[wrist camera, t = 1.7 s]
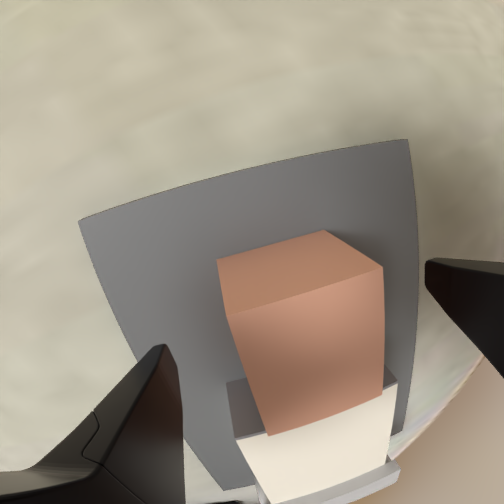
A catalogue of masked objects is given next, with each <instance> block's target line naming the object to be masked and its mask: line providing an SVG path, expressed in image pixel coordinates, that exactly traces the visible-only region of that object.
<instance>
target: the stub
mask: <svg viewBox="0 0 504 504" xmlns="http://www.w3.org/2000/svg"><path fill="white" fill-rule="evenodd" d="M216 261H217V267H218V273H219V279H220V284H221V290H222V296H223V302H224V307H225V313H226V317H227V320H228V323H229V326H230V330H231V333H232V336H233V339H234V342H235V345H236V348H237V351H238V354H239V357H240V359H241V362H242V365H243V368H244V371H245V374H246V377H247V380H248V383H249V385H250V388H251V391H252V394H253V397H254V399H255V402H256V405H257V408H258V411H259V413H260V416H261V419H262V421H263V424H264V427H265V430H266V432H267V435H268V436H272V435H275V434H279V433H282V432H286V431H289V430H292V429H295V428H298V427H302V426H305V425H308V424H311V423H313V422H316V421H319V420H322V419H325V418H328V417H330V416H333V415H336V414H338V413H341V412H343V411H346V410H348V409H351V408H353V407H356V406H358V405H360V404H363V403H365V402H367V401H370V400H372V399H374V398H376V397H379V396H381V395H382V390H383V373H384V343H385V310H384V280H383V267H382V266H381V265H379V264H378V263H376V262H374V261H373V260H371V259H370V258H368V257H367V256H365V255H364V254H362V253H361V252H359V251H357V250H356V249H354V248H353V247H351V246H349V245H348V244H346V243H345V242H343V241H342V240H340V239H338V238H337V237H335V236H333V235H332V234H330V233H329V232H327V231H325V230H321V231H317V232H314V233H310V234H307V235H303V236H299V237H296V238H292V239H289V240H285V241H281V242H278V243H274V244H271V245H267V246H263V247H260V248H256V249H253V250H249V251H245V252H242V253H238V254H235V255H231V256H227V257H224V258H220V259H217V260H216Z"/></svg>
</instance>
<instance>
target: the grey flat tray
mask: <svg viewBox="0 0 504 504" xmlns="http://www.w3.org/2000/svg"><path fill="white" fill-rule="evenodd" d="M78 224H79V227H80V230H81V233H82V236H83V239H84V242H85V244H86V247H87V250H88V253H89V255H90V258H91V261H92V263H93V266H94V268H95V271H96V274H97V276H98V278H99V281H100V283H101V286H102V288H103V291H104V293H105V295H106V298H107V300H108V302H109V304H110V307H111V309H112V311H113V313H114V315H115V318H116V320H117V322H118V324H119V326H120V328H121V330H122V332H123V334H124V336H125V338H126V340H127V342H128V344H129V346H130V348H131V350H132V352H133V354H134V356H135V358H136V360H137V362H139V361H140V360H141V359H142V357H143V356H144V355H145V354H146V353H147V352H148V351H149V350H150V349H151V348H152V347H153V346H155V345H159V344H164V343H165V344H167V346H168V347H169V349H170V351H171V354H172V356H173V358H174V360H175V362H176V364H177V367H178V374H179V382H180V391H181V399H182V407H183V437H184V439H185V440H186V442H187V443H188V445H189V446H190V448H191V449H192V450H193V452H194V453H195V455H196V456H197V457H198V459H199V460H200V461H201V463H202V464H203V465H204V467H205V468H206V469H207V471H208V472H209V473H210V475H211V476H212V477H213V478H214V480H215V481H216V482H217V483H218V485H219V486H220V487H221V488H222V490H223V491H225V490H231V489H236V488H241V487H246V486H250V485H255V484H256V489H257V493H258V497H259V502H260V504H348V503H351V502H353V501H356V500H358V499H360V498H363V497H365V496H367V495H370V494H372V493H374V492H377V491H379V490H381V489H383V488H385V487H387V486H389V485H391V484H393V483H395V482H397V479H398V476H399V473H400V470H401V468H400V467H399V465H398V464H397V462H396V460H395V459H394V460H392V461H391V459H390V458H389V456H388V454H387V451H388V446H389V441H390V437H391V436H393V435H395V434H397V433H398V432H400V431H402V429H403V424H404V419H405V414H406V408H407V403H408V397H409V391H410V384H411V377H412V370H413V361H414V352H415V342H416V330H417V314H418V288H419V255H418V229H417V213H416V201H415V190H414V181H413V173H412V165H411V158H410V151H409V145H408V139H401V140H393V141H386V142H379V143H373V144H366V145H360V146H354V147H348V148H342V149H337V150H331V151H326V152H321V153H315V154H310V155H305V156H301V157H296V158H291V159H286V160H282V161H277V162H273V163H268V164H264V165H260V166H256V167H251V168H247V169H243V170H239V171H235V172H231V173H227V174H223V175H220V176H216V177H212V178H208V179H205V180H201V181H198V182H194V183H190V184H187V185H183V186H180V187H177V188H173V189H170V190H167V191H163V192H160V193H157V194H154V195H150V196H147V197H144V198H141V199H138V200H135V201H132V202H129V203H126V204H123V205H120V206H117V207H114V208H111V209H108V210H105V211H102V212H100V213H97V214H94V215H91V216H88V217H86V218H83V219H81V220H79V221H78ZM321 230H325V231H327V232H329V233H330V234H332V235H333V236H335V237H337V238H338V239H340V240H342V241H343V242H345V243H346V244H348V245H349V246H351V247H353V248H354V249H356V250H357V251H359V252H361V253H362V254H364V255H365V256H367V257H368V258H370V259H371V260H373V261H374V262H376V263H378V264H379V265H381V266H382V267H383V280H384V310H385V343H384V373H383V390H382V395H381V396H379V397H376V398H374V399H372V400H370V401H367V402H365V403H363V404H360V405H358V406H356V407H353V408H351V409H348V410H346V411H343V412H341V413H338V414H336V415H333V416H330V417H328V418H325V419H322V420H319V421H316V422H313V423H311V424H308V425H305V426H302V427H298V428H295V429H292V430H289V431H286V432H282V433H279V434H275V435H272V436H268V435H267V432H266V430H265V427H264V424H263V421H262V419H261V416H260V413H259V411H258V408H257V405H256V402H255V399H254V397H253V394H252V391H251V388H250V385H249V383H248V380H247V377H246V374H245V371H244V368H243V365H242V362H241V359H240V357H239V354H238V351H237V348H236V345H235V342H234V339H233V336H232V333H231V330H230V326H229V323H228V320H227V317H226V313H225V307H224V302H223V296H222V290H221V284H220V279H219V273H218V267H217V261H216V260H217V259H220V258H224V257H227V256H231V255H235V254H238V253H242V252H245V251H249V250H253V249H256V248H260V247H263V246H267V245H271V244H274V243H278V242H281V241H285V240H289V239H292V238H296V237H299V236H303V235H307V234H310V233H314V232H317V231H321Z"/></svg>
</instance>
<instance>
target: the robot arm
mask: <svg viewBox="0 0 504 504" xmlns="http://www.w3.org/2000/svg"><path fill="white" fill-rule="evenodd" d="M425 286H426V288H427V290H428V291H429V292H430V293H431V295H432V296H433V297H434V298H435V300H436V301H437V302H438V303H439V305H440V306H441V307H442V308H443V310H444V311H445V312H446V314H447V315H448V316H449V317H450V318H451V319H452V320H453V321H454V323H455V324H456V325H457V326H458V327H459V328H460V329H461V330H462V331H463V332H464V333H465V334H466V335H467V337H468V338H469V339H470V340H471V341H472V342H473V343H474V344H475V345H476V347H477V348H478V349H479V350H480V351H481V352H482V353H483V354H484V356H485V357H486V358H487V359H488V360H489V361H490V363H491V364H492V365H493V366H494V367H495V368H496V370H497V371H498V372H499V373H500V375H501V376H502V377H503V378H504V263H503V262H490V261H476V260H462V259H448V258H432V259H430V260H428V261H426V263H425ZM93 411H94V412H93ZM93 411H92V412H91V413H90V414H89V415H88V416H87V417H86V418H85V419H84V420H83V421H82V422H81V423H80V424H79V425H78V426H77V427H76V428H75V429H74V430H73V431H72V432H71V433H70V434H69V435H68V436H67V437H66V438H65V439H64V440H63V441H61V442H60V443H59V444H58V445H57V446H56V447H55V448H54V449H53V450H51V451H50V452H49V453H48V454H47V455H46V456H45V457H44V458H42V459H41V460H40V461H39V462H38V463H37V464H35V465H34V466H32V467H30V468H28V469H25V470H21V471H10V472H0V504H186V501H185V482H184V453H183V407H182V399H181V391H180V382H179V374H178V367H177V364H176V362H175V360H174V358H173V356H172V354H171V351H170V349H169V347H168V346H167V344H165V343H164V344H159V345H155V346H153V347H152V348H151V349H150V350H149V351H148V352H147V353H146V354H145V355H144V356H143V357H142V359H141V360H140V361H139V362H138V363H137V364H136V365H135V366H134V367H133V368H132V369H131V370H130V371H129V372H128V373H127V374H126V376H125V377H124V378H123V379H122V380H121V381H120V382H119V383H118V384H117V385H116V386H115V387H114V388H113V389H112V390H111V391H110V393H109V394H108V395H107V396H106V397H105V398H104V399H103V400H102V401H101V402H100V403H99V404H98V405H97V406H96V408H95V409H94V410H93ZM225 504H239V503H238V502H231V503H225Z"/></svg>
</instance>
